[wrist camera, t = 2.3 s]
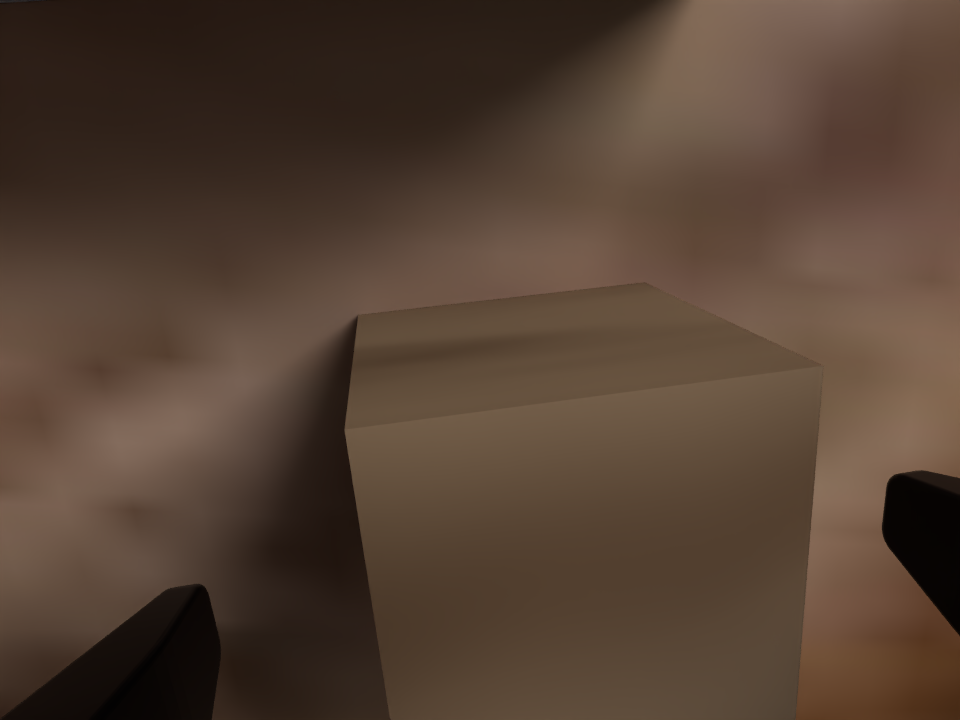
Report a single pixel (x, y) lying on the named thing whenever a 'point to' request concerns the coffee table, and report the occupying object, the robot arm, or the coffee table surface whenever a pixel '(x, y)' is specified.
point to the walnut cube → (583, 508)
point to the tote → (7, 0)
